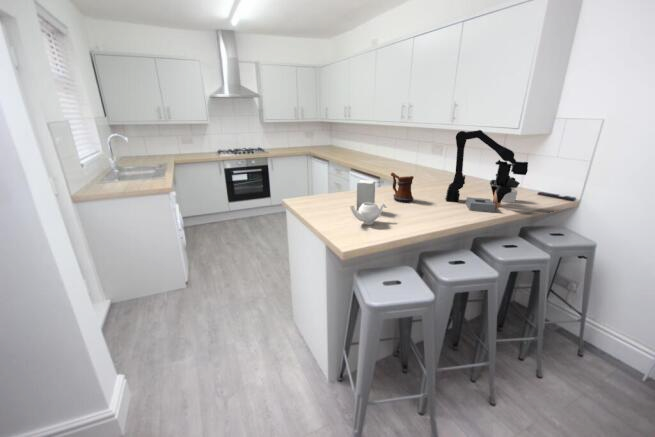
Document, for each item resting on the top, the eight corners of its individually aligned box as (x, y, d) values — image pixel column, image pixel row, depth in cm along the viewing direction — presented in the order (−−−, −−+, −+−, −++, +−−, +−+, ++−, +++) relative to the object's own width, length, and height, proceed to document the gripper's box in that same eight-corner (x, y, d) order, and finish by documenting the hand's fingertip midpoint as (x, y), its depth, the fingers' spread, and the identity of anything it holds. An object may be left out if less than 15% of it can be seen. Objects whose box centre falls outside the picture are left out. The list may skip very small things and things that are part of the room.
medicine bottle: (514, 202, 170) (519, 182, 166) (501, 201, 172) (506, 182, 168) (510, 199, 177) (514, 180, 173) (497, 198, 178) (501, 179, 174)
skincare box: (374, 209, 154) (376, 180, 149) (370, 213, 148) (372, 183, 143) (359, 207, 157) (361, 179, 152) (355, 210, 152) (356, 181, 146)
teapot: (391, 223, 136) (393, 204, 132) (354, 229, 128) (355, 209, 124) (379, 216, 144) (381, 198, 141) (344, 222, 136) (345, 203, 132)
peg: (492, 206, 162) (496, 191, 159) (491, 204, 166) (494, 189, 163) (500, 207, 161) (504, 191, 158) (498, 205, 165) (502, 190, 162)
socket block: (469, 210, 156) (470, 203, 154) (465, 203, 167) (466, 197, 165) (494, 212, 153) (495, 205, 151) (488, 205, 164) (490, 199, 162)
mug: (382, 196, 179) (384, 172, 174) (396, 194, 184) (399, 170, 179) (402, 204, 164) (405, 178, 159) (417, 201, 170) (420, 176, 164)
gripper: (526, 177, 147) (518, 207, 152) (514, 171, 164) (507, 197, 169) (501, 176, 149) (495, 205, 155) (492, 169, 166) (486, 196, 172)
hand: (497, 200), depth 163 cm, fingers open, 8 cm apart
